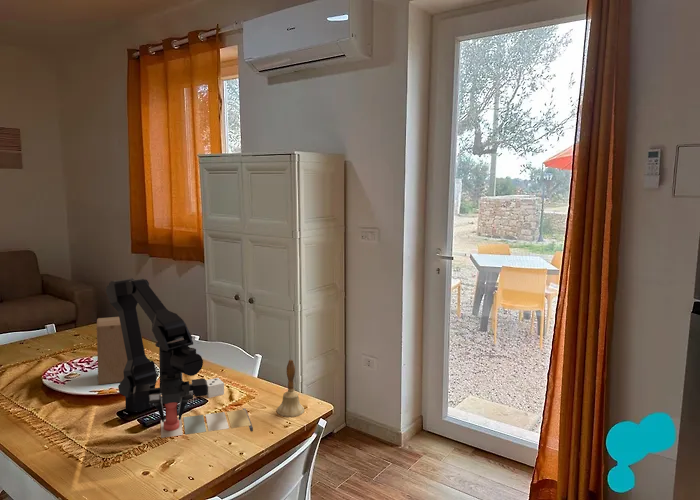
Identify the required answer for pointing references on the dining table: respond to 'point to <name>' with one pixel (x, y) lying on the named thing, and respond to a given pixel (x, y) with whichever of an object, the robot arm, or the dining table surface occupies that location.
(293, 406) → the hand bell
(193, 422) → the board
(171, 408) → the pawn
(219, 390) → the die
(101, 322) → the wooden block
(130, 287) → the robot arm
